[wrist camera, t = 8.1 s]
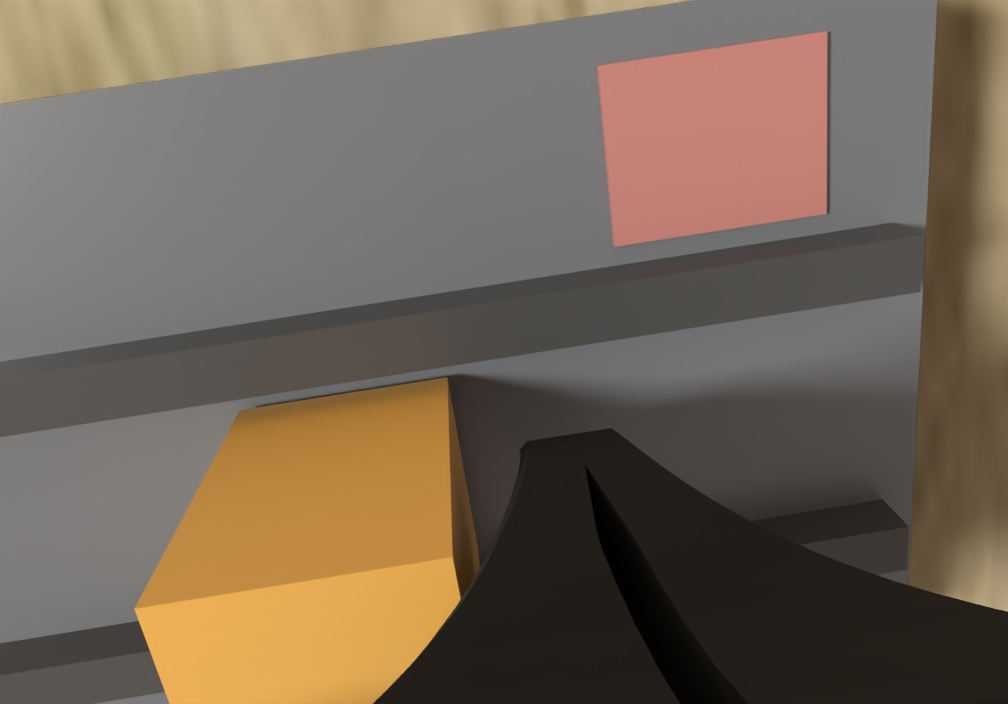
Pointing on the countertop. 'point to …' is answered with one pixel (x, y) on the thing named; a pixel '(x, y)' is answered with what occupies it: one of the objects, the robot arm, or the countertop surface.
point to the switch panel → (465, 283)
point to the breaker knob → (315, 552)
